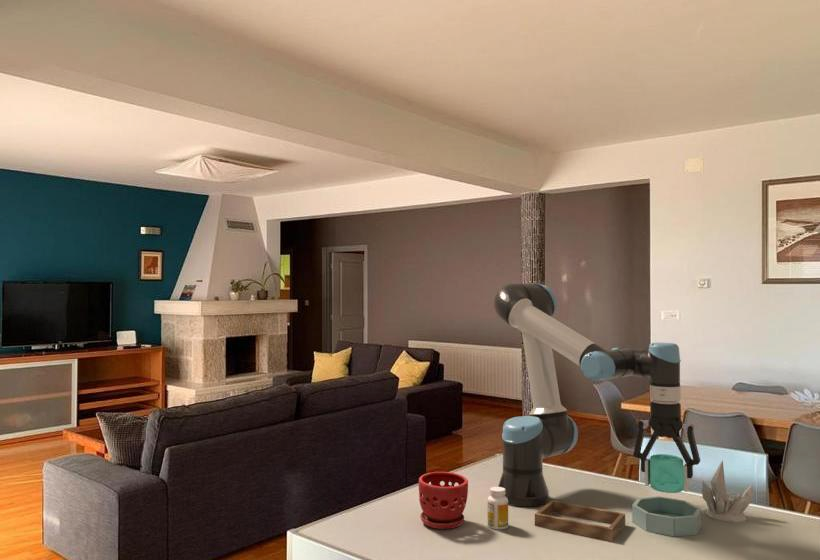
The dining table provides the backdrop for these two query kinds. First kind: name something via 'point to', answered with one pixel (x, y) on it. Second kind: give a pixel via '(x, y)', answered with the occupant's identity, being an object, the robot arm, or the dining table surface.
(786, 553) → the dining table surface
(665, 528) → the bowl
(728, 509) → the crystal
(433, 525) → the plant pot
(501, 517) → the supplement bottle
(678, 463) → the decorative dice
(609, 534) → the rectangular frame
